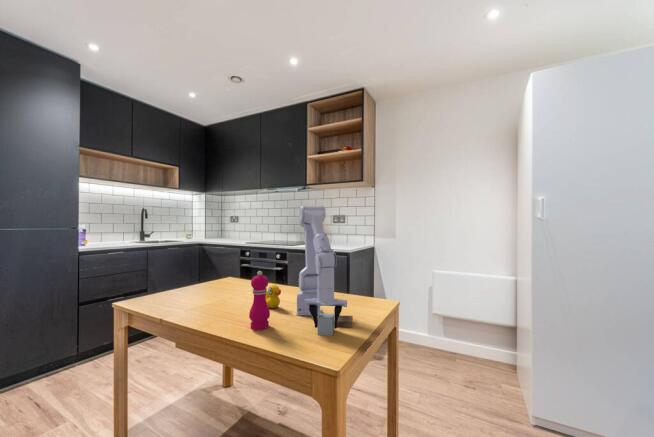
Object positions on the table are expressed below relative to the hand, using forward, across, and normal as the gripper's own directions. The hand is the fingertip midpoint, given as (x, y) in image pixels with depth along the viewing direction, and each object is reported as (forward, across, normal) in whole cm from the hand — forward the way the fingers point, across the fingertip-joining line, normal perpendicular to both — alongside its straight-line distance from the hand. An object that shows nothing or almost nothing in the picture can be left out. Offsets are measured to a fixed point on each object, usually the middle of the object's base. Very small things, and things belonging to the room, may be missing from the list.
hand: (325, 327), depth 93 cm
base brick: (+2, +6, +8) cm, 10 cm away
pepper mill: (+2, -24, +2) cm, 24 cm away
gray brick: (+2, 0, 0) cm, 2 cm away
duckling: (+2, -26, +24) cm, 35 cm away
